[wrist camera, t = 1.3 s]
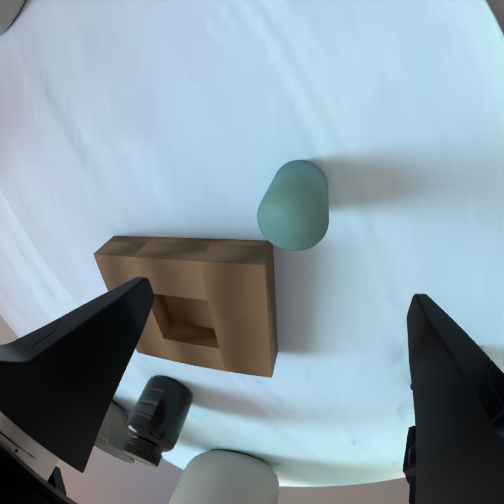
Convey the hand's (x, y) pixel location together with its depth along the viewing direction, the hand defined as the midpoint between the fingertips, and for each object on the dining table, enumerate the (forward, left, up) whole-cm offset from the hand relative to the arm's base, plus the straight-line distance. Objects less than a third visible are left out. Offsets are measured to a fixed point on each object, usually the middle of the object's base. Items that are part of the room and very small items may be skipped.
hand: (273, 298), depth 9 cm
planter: (+11, +57, -11) cm, 59 cm away
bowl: (+37, +44, -11) cm, 58 cm away
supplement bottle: (+17, +28, -11) cm, 34 cm away
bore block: (+9, +10, -10) cm, 17 cm away
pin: (0, 0, -10) cm, 11 cm away
